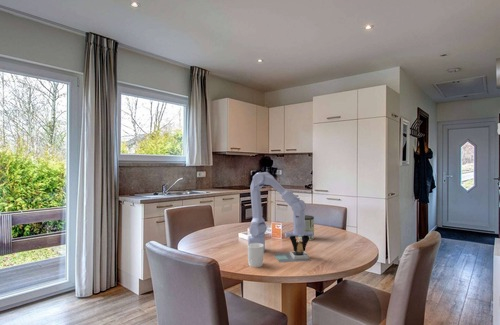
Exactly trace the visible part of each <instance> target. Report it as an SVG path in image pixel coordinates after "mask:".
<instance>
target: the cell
mask: <svg viewBox="0 0 500 325" xmlns="http://www.w3.org/2000/svg"><path fill="white" fill-rule="evenodd" d="M294 252H295V251H294ZM295 254H296V255H303V242H302V240H298V241H296V252H295Z"/></svg>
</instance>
